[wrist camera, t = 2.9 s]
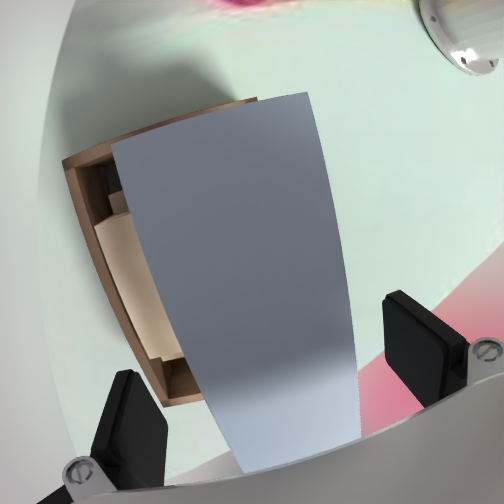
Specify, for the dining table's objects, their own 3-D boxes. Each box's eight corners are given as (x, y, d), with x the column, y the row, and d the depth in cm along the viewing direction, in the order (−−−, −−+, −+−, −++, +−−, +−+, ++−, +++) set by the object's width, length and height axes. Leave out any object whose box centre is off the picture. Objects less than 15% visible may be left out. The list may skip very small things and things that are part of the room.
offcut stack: (165, 175, 25) (147, 181, 18) (214, 324, 29) (216, 373, 22) (117, 192, 25) (84, 204, 18) (170, 335, 29) (160, 385, 22)
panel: (235, 143, 25) (307, 91, 6) (279, 316, 30) (361, 503, 11) (187, 156, 25) (110, 144, 6) (238, 328, 29) (277, 528, 10)
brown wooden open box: (246, 110, 24) (256, 96, 18) (300, 332, 30) (318, 368, 25) (92, 159, 23) (61, 160, 18) (169, 367, 30) (163, 407, 24)
